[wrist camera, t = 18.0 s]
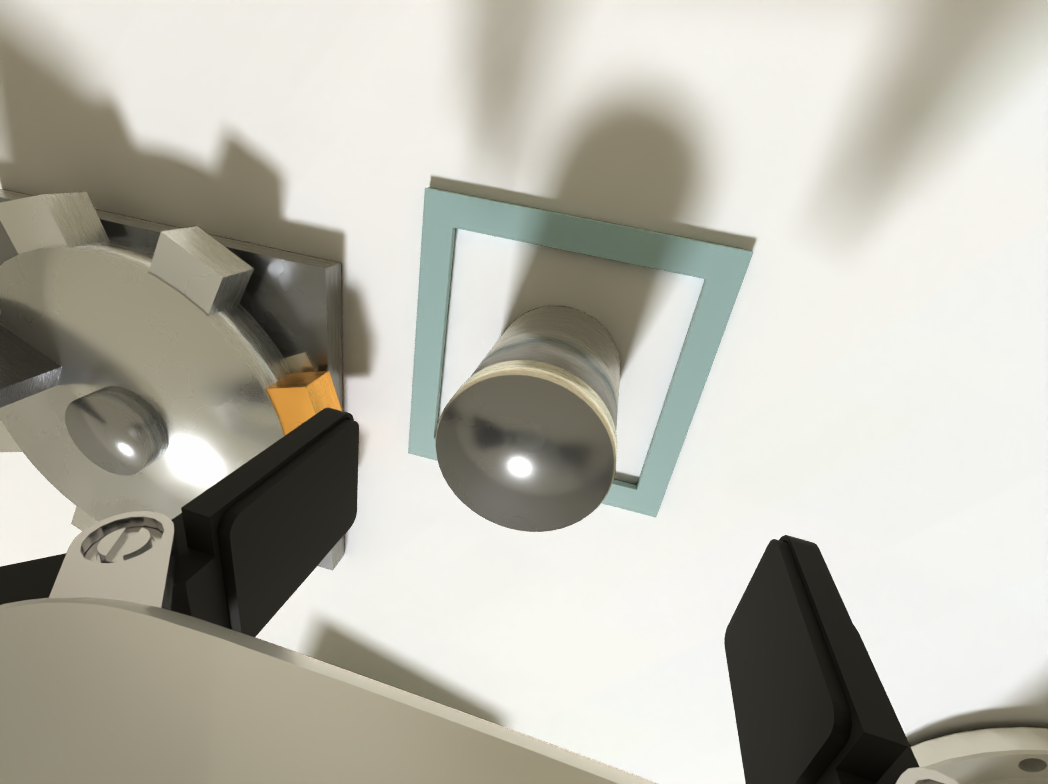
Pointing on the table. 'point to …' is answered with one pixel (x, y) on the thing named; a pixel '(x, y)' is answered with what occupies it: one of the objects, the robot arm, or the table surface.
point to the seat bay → (594, 239)
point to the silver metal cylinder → (536, 423)
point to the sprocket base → (263, 300)
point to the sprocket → (135, 362)
